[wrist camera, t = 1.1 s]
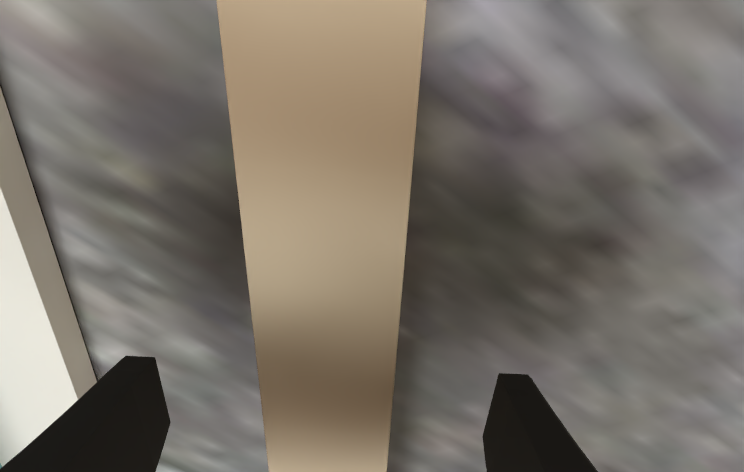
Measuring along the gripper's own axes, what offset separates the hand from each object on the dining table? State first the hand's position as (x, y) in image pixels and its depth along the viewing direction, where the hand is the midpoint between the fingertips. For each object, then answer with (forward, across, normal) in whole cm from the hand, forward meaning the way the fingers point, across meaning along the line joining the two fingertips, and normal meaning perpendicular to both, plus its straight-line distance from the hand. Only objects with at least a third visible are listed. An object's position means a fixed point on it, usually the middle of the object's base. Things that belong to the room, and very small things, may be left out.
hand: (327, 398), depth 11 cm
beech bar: (+4, 0, 0) cm, 4 cm away
